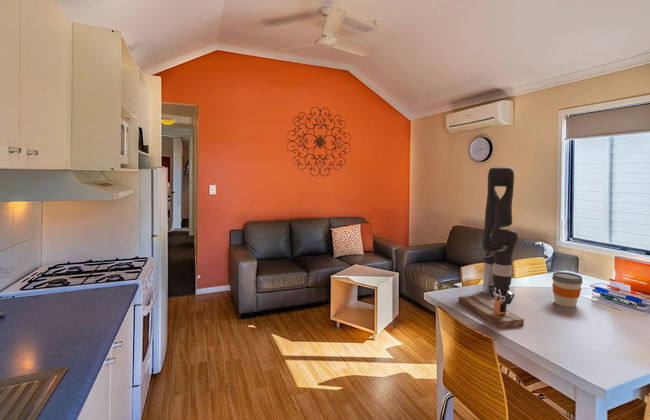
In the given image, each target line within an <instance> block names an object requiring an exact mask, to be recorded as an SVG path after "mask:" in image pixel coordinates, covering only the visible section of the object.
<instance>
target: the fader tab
mask: <svg viewBox="0 0 650 420" xmlns="http://www.w3.org/2000/svg"><path fill="white" fill-rule="evenodd" d="M493 301H494V302H493V303H494V312H495V313H496V314H498V315H500V314H506V311H505V312H501V311H500V308H501V299H494V298H493ZM503 301H504V299H503ZM507 305H508V304H507ZM507 305H506V307H507Z"/></svg>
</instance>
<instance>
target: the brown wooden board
mask: <svg viewBox="0 0 650 420" xmlns="http://www.w3.org/2000/svg"><path fill="white" fill-rule="evenodd" d="M457 299H458V301H457V302H458V303H459V305H461V306H463V307H464V308H466V309H467V310H470V311H471V312H473V313H474V314H476V315H477V316H479V317H480V318H482V319H484V320H486V321H487V322H489V323H490V324H492V325H494V326H495V327H497V328H499V329H507V328H514V327H523V326H525V325H524V323H525V322H524V321H525V319H524V318H522V317H521V316H519V315H517V314H515V313H513V312H511V311H509V310H507V309H506V314H500V315H498V314H496V313H495V312H494V302H492V301H491V300H488V299H486V298H485V297H483V296H481V295H479V294H478V295H469V296H458V298H457Z"/></svg>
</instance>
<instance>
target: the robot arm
mask: <svg viewBox="0 0 650 420" xmlns="http://www.w3.org/2000/svg"><path fill="white" fill-rule="evenodd" d="M514 186H515V170H514V169H513V168H512V167H509V166H507V167H506V166H505V167H502V166H501V167H500V166H499V167H491V168H490V169H489V170H488V173H487V195H486V196H487V197H486V205H485V214H484V228H483V233H482V240H481V247H482V249H483V250H484V251H490V252H494V253H493V254H490V255H486V256H484V258H483V276H482V293H483V294H485V295H489V296H491V298H492V299H493V300H494V299H501V308H500V311H501V312H505V311H506V310H507V306H506V305H510V304H511V303H512V301H513V299H514V297H515V294H514V293H512V291H510V286H511V284H512V273H513V269H512V261H513V259H512V258H513V253H514V250H515V247H516V244H517V243H518V239H519V235H518V233H517V231H515V230H513V229H501V228H506V227H510V226H512V225H513V210H512V209H513V208H512V207H513V206H512V205H513V198H514ZM496 187H505V191H504V193H503V194H502V196H501V197H500V196H499V194H498V192H497V191H496ZM505 246H506V247H505ZM504 247H505V248H504ZM503 299H504V301H503Z"/></svg>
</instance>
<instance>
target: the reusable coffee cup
mask: <svg viewBox="0 0 650 420" xmlns="http://www.w3.org/2000/svg"><path fill="white" fill-rule="evenodd" d="M551 278H552V293H553V295H554V303H555V304H556V305H557V306H558V305H559V306H561V307H566V308H575V307H576V306H577V303H578V299H579V298H580V294H581V290H582V284H583V277H582V276H581V275H579V274H577V273H572V272H571V273H570V272H566V271H556V272H555V271H554V272H553V273H552V277H551Z"/></svg>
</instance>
